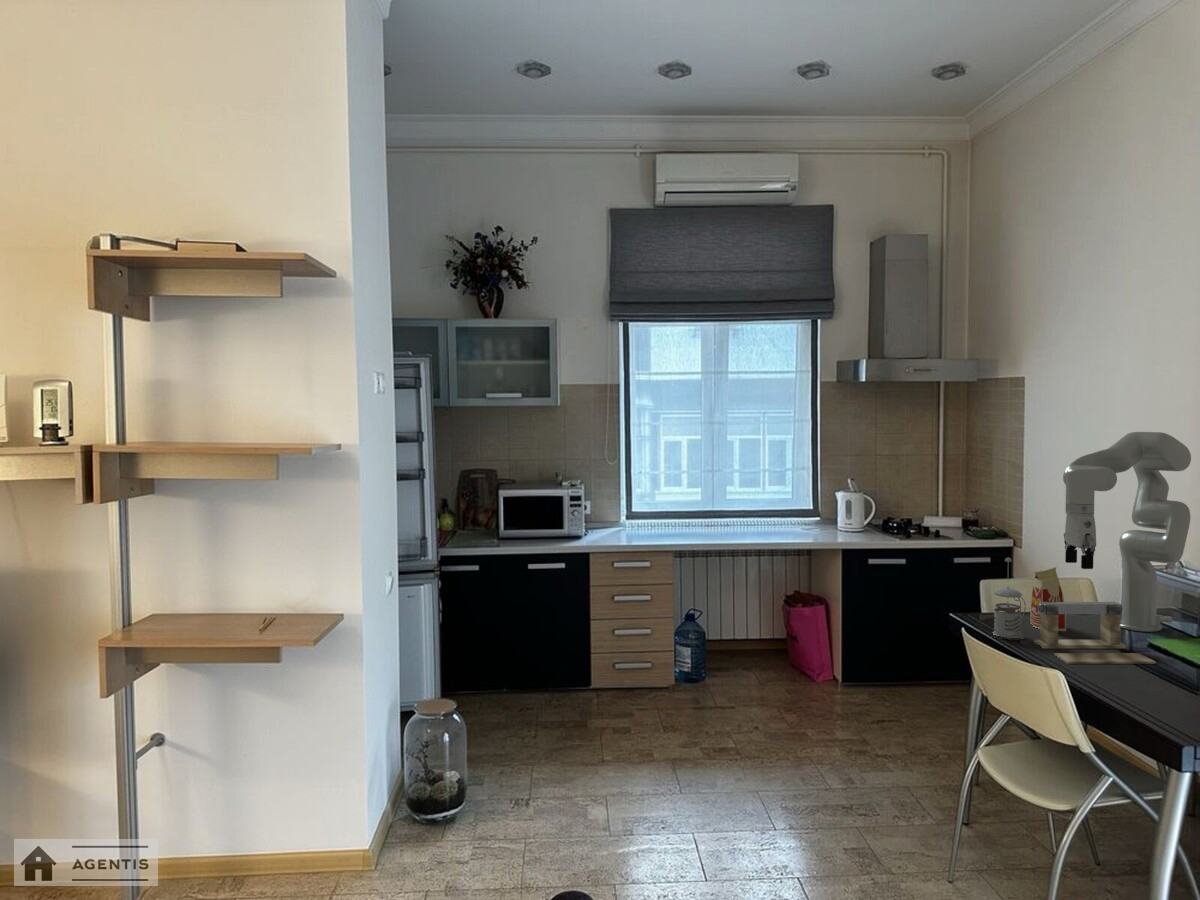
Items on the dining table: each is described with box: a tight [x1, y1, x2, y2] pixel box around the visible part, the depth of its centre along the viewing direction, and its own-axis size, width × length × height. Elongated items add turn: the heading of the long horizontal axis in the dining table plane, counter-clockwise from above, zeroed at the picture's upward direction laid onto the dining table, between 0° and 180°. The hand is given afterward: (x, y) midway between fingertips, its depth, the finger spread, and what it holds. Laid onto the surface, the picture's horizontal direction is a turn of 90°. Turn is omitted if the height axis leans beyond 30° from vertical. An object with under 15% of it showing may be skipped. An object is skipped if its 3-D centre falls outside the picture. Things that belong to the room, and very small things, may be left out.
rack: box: [1033, 606, 1127, 649], centre depth 257 cm, size 24×6×12 cm, turn 87°
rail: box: [1038, 601, 1122, 615], centre depth 257 cm, size 24×3×3 cm, turn 87°
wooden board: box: [1053, 652, 1157, 665], centre depth 244 cm, size 24×8×1 cm, turn 87°
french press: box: [992, 557, 1026, 638], centre depth 269 cm, size 10×12×25 cm
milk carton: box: [1029, 566, 1067, 632], centre depth 278 cm, size 9×9×20 cm
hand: (1079, 565), depth 257 cm, fingers open, 9 cm apart
